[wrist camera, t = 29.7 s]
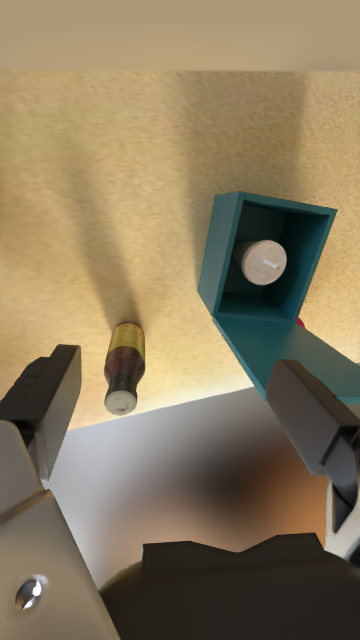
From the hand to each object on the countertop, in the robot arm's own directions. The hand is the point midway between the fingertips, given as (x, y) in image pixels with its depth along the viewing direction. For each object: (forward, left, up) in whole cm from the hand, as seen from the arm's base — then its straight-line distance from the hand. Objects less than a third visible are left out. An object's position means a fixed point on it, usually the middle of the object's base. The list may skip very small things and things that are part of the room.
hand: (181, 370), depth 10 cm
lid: (+17, +4, -15) cm, 23 cm away
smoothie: (+12, +10, -36) cm, 39 cm away
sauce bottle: (+8, -16, -36) cm, 40 cm away
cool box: (+12, +10, -36) cm, 39 cm away
